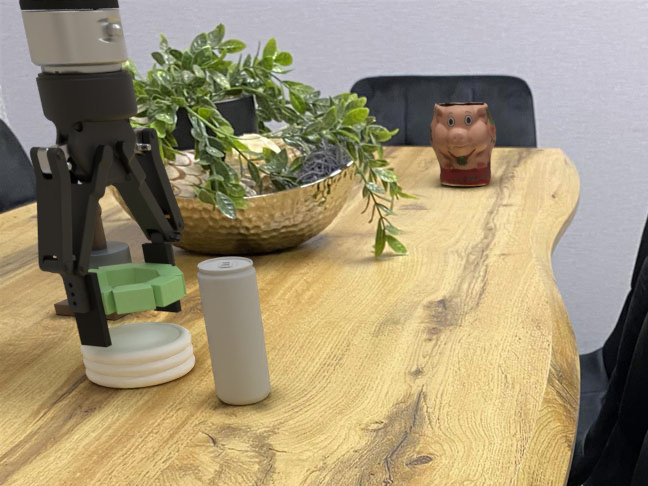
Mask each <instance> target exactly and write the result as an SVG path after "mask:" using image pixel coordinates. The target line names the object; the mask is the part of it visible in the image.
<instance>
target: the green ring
mask: <svg viewBox="0 0 648 486" xmlns="http://www.w3.org/2000/svg"><path fill="white" fill-rule="evenodd" d="M88 272H95V273H97V276H98V281H99V285H100V290H101V296H102V301H103V305H104V310H105V314H106V315H109V314H111V313H114V312H117V314H125V313H129V314H132V313H137V312H138V313H139V312H146V311H154V309H156V306H159V307H165V306H167V305H169V304H171V303H173V302H175V301H177V300H180V301H181V300H182V299H183V298H185V296H186V295H187V293H188V292H187V287H186V280H185V275H184V273H183V272H182V271H181V269H180V268H179V267H178V266H177V265H176V266H172V265H171V264H158V263H145V261H143V262H140V263H138V264H136V262H132V263H127V264H118V265H110V266H102V267H99V269H89V270H88Z"/></svg>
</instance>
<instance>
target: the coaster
mask: <svg viewBox="0 0 648 486" xmlns="http://www.w3.org/2000/svg"><path fill="white" fill-rule="evenodd" d="M108 328H109V333H110V338H111V342H112V345H111V346H109V347H107V348H106V347H96V346H87V345H81V344H80V353H81V354H82V357H83V358H82V363H83V365H84V367H85V375H86V377H87V378H88V380H89V381H90V382H92V383H94V384H95V385H99V386H101V387H106V388H112V389H113V388H115V389H135V388H145V387H152V386H158V385H162V384H165V383H168V382H171V381H174V380H177V379H179V378H181V377H183V376H185V375H187V374H188V373H189V372H191V370H192V369H193V368H194V367H195V363H196V357H195V355H194V346H193V344H192V334H191V332H190V331H189V330H188V328H186V327H185V326H182V325H180V324H178V323H173V322H166V321H139V322H131V323H130V322H129V323H123V324H118V325H113V326H108Z"/></svg>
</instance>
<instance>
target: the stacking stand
mask: <svg viewBox="0 0 648 486" xmlns="http://www.w3.org/2000/svg"><path fill="white" fill-rule="evenodd" d="M102 213H103V209H102V206H101V204H100V202H99V203H98V210H97V217H96V223H95V230H94V237H93V243H92V250H91V257H90V263H89V269H99V267H102V266H110V265H118V264H127V263H133V260H132V255H131V254H132V253H131V250H130V245H129V244H128V243H126V242H123V241H116V240H107V239H106V233H105V229H104V228H105V227H104V224H103V219H102V215H103V214H102ZM73 260H75V256H74V255H73ZM53 307H54V311H55V315H61V316H70V317H75V315H74V312H72V311H71V309H70V308H69V304H68V300H67V298H65V299H63V300H61V301H57V302H55V303H53ZM129 314H130V313H125V314H117V312H114V313H111V314H109V315H106V319H107V320H111V321H116V320H118V319H120V318H123V317H125V316H127V315H129Z"/></svg>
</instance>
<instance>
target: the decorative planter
mask: <svg viewBox="0 0 648 486" xmlns="http://www.w3.org/2000/svg"><path fill="white" fill-rule="evenodd" d="M496 142H497V128H496V124H495V122H494V119H493V117H492V114H491V112H490V109H489V105H488V104H487V103H486V102H482V101H481V102H480V101H479V102H477V101H476V102H475V101H473V102H471V101H468V102H443V103H439V102H435V104H434V106H433V118H432V120H431V122H430V126H429V143H430V146H431V148H432V150H433V152H434V153H435V156H436V159H437V162H438V166H439V171H440V172H439V183H440V184H442V185H445V186H453V187H478V186H486V185H488V184H490V182H491V179H492V169H491V168H492V152H493V149H494V148H495V145H496Z"/></svg>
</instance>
